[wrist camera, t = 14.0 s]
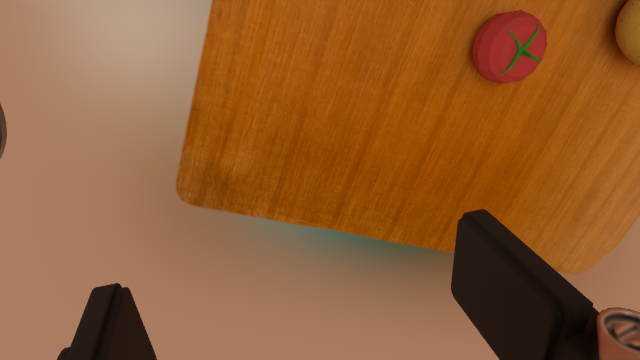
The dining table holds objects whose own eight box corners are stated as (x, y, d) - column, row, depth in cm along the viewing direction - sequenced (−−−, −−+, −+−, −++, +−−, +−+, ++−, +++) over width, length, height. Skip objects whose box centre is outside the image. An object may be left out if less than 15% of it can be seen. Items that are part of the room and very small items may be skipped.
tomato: (448, 45, 48) (486, 56, 41) (498, -8, 46) (546, -5, 40) (482, 89, 51) (522, 106, 45) (530, 41, 50) (578, 52, 43)
